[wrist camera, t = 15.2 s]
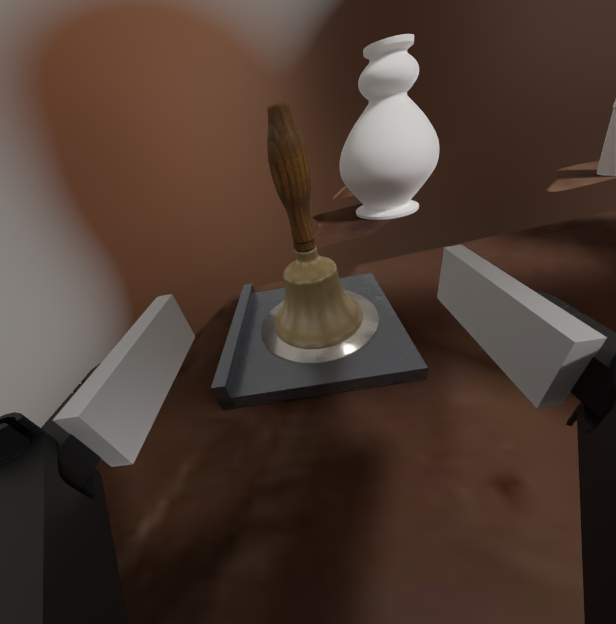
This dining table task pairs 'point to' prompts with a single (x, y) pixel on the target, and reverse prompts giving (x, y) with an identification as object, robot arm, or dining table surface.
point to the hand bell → (305, 249)
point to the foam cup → (609, 149)
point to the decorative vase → (389, 135)
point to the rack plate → (312, 352)
